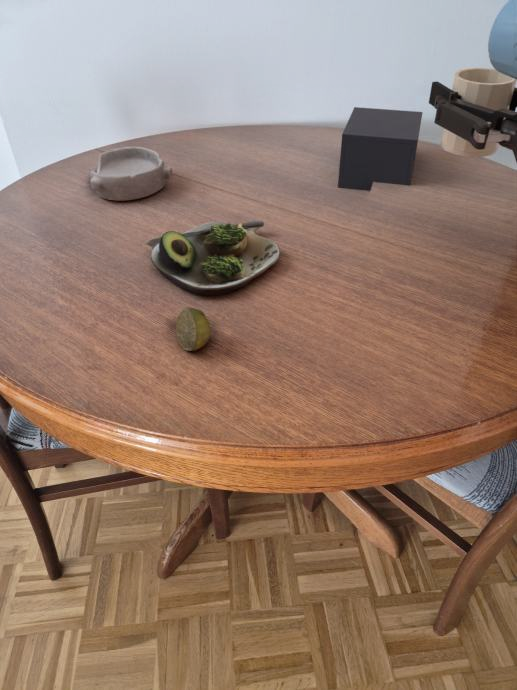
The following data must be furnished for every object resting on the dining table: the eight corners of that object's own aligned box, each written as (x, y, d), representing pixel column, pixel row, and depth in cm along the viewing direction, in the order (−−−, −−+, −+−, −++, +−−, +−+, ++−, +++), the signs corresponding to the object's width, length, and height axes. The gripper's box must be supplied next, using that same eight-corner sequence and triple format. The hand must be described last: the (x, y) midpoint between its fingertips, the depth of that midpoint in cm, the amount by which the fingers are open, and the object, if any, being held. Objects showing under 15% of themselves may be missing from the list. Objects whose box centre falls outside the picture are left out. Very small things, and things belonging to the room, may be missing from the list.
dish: (96, 209, 93) (90, 181, 90) (88, 177, 103) (82, 151, 100) (179, 196, 97) (175, 168, 94) (163, 166, 107) (160, 141, 104)
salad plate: (228, 215, 91) (227, 189, 88) (308, 254, 81) (309, 226, 78) (132, 259, 81) (127, 231, 78) (210, 310, 71) (207, 280, 68)
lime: (202, 360, 64) (198, 327, 60) (167, 349, 65) (161, 317, 62) (219, 337, 67) (217, 305, 64) (185, 328, 68) (181, 296, 65)
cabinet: (349, 156, 109) (354, 107, 103) (413, 162, 106) (422, 111, 100) (337, 187, 99) (342, 133, 92) (408, 194, 96) (418, 140, 90)
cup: (496, 139, 76) (514, 69, 70) (498, 159, 71) (518, 85, 65) (441, 134, 78) (455, 66, 72) (439, 154, 72) (454, 82, 67)
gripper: (469, 196, 58) (386, 124, 75) (636, 175, 61) (520, 111, 78) (487, 125, 53) (394, 65, 70) (668, 106, 56) (537, 53, 73)
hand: (461, 89), depth 74 cm, fingers closed on cup, 7 cm apart
